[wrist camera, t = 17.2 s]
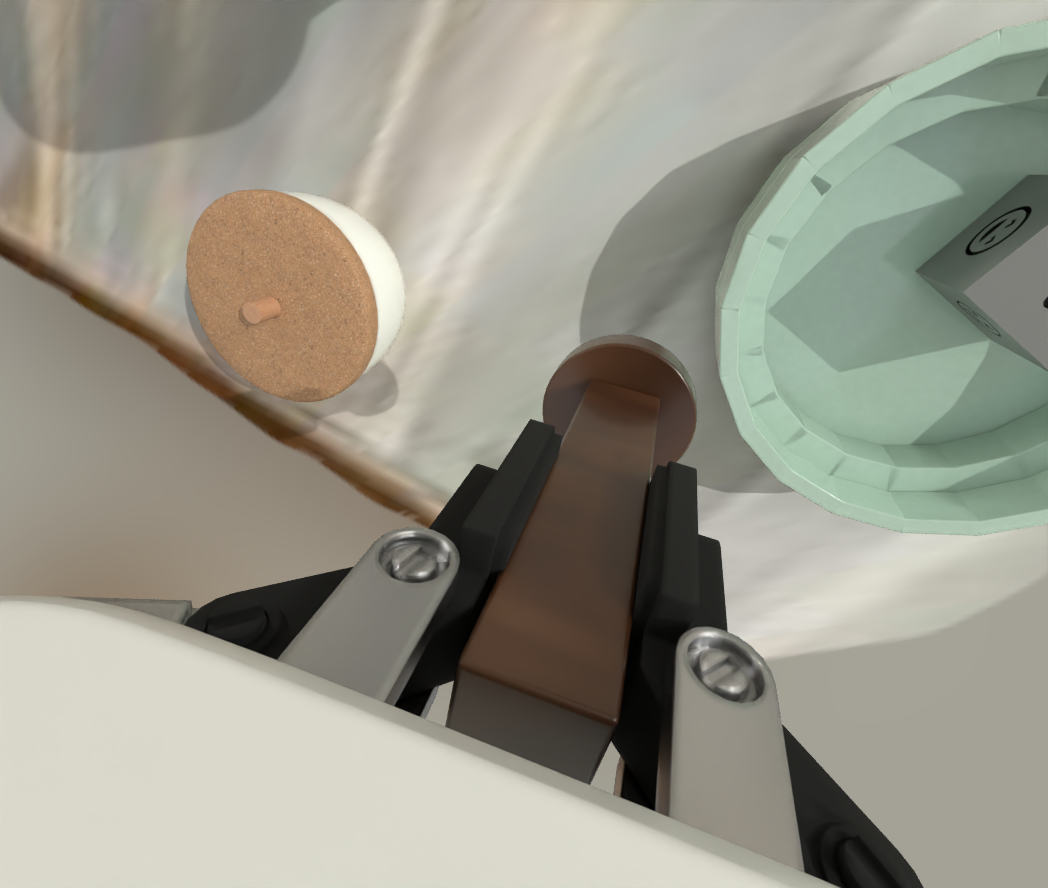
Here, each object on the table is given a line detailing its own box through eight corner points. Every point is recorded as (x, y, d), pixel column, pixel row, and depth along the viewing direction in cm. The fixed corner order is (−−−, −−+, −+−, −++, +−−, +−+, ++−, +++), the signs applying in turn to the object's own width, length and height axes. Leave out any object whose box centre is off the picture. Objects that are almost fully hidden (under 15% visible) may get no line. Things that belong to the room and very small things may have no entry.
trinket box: (354, 387, 37) (262, 445, 29) (253, 252, 35) (121, 276, 27) (466, 308, 32) (393, 353, 24) (358, 145, 30) (236, 135, 22)
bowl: (668, 419, 32) (664, 466, 27) (805, 15, 22) (841, -32, 17) (1022, 513, 29) (1093, 587, 24) (1360, 91, 19) (1605, 62, 14)
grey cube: (1110, 252, 22) (1209, 271, 18) (990, 339, 25) (1052, 374, 21) (1028, 174, 22) (1110, 175, 18) (915, 271, 25) (962, 292, 20)
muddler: (537, 445, 17) (357, 769, 8) (566, 316, 15) (368, 553, 6) (668, 485, 17) (640, 890, 7) (719, 357, 14) (774, 699, 5)
